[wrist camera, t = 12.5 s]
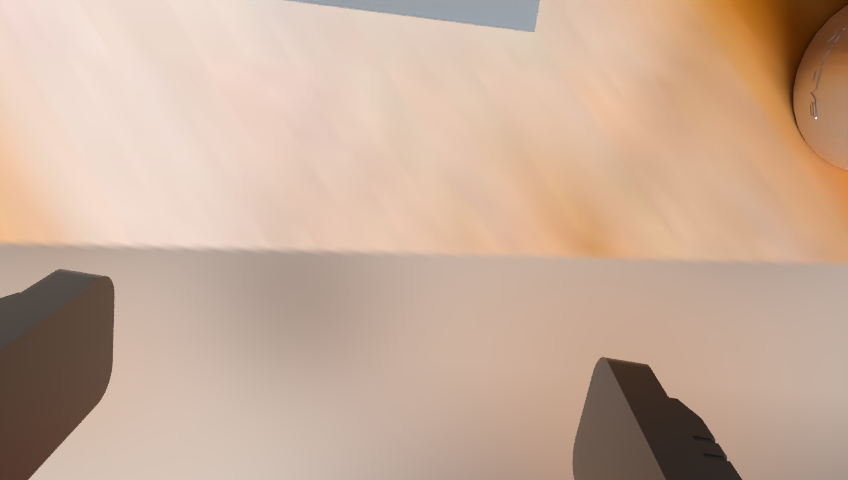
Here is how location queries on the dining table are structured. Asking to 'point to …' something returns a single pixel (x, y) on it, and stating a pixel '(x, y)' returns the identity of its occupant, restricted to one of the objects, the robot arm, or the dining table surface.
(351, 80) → the dining table surface
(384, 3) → the lid
